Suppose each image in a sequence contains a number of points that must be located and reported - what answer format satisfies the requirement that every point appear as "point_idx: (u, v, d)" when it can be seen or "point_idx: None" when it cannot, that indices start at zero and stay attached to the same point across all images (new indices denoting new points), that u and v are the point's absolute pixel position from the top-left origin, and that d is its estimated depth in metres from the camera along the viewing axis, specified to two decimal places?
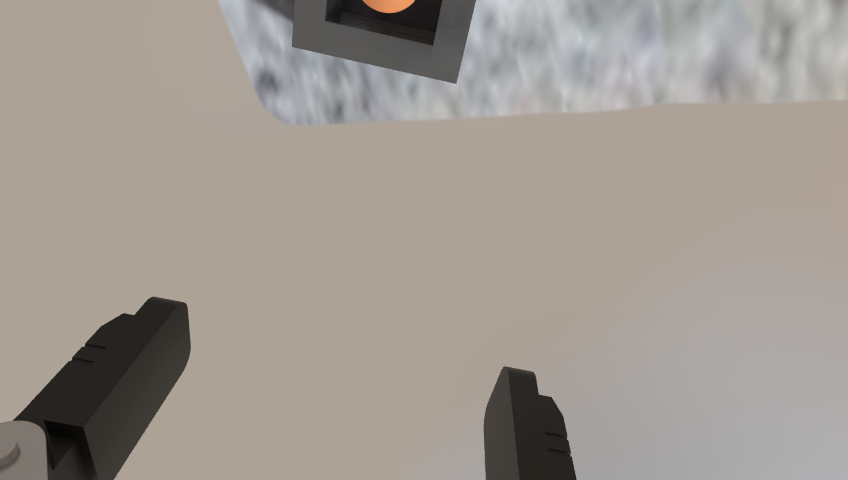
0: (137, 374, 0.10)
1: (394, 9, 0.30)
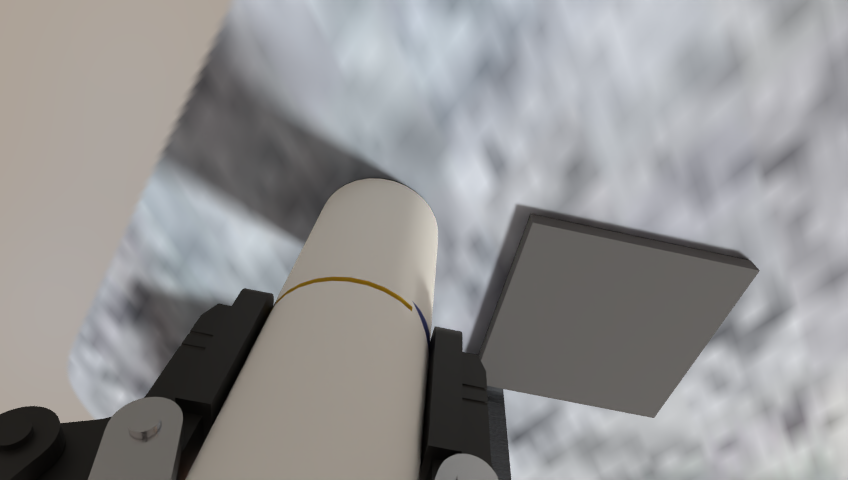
0: (242, 359, 0.11)
1: None
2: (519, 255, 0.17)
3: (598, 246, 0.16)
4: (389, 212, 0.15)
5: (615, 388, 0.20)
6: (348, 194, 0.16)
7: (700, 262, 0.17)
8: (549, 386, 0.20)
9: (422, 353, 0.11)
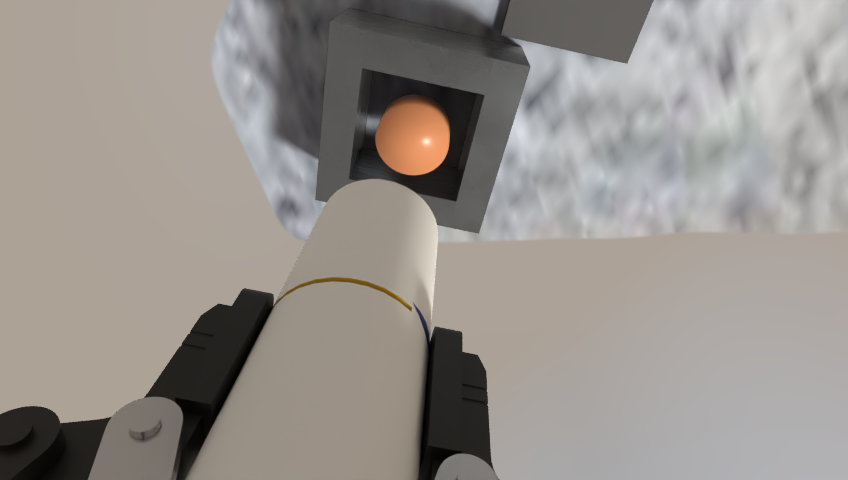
0: (242, 359, 0.11)
1: (418, 172, 0.30)
2: None
3: None
4: (389, 212, 0.15)
5: (599, 33, 0.29)
6: (348, 195, 0.16)
7: None
8: (554, 35, 0.29)
9: (422, 354, 0.11)
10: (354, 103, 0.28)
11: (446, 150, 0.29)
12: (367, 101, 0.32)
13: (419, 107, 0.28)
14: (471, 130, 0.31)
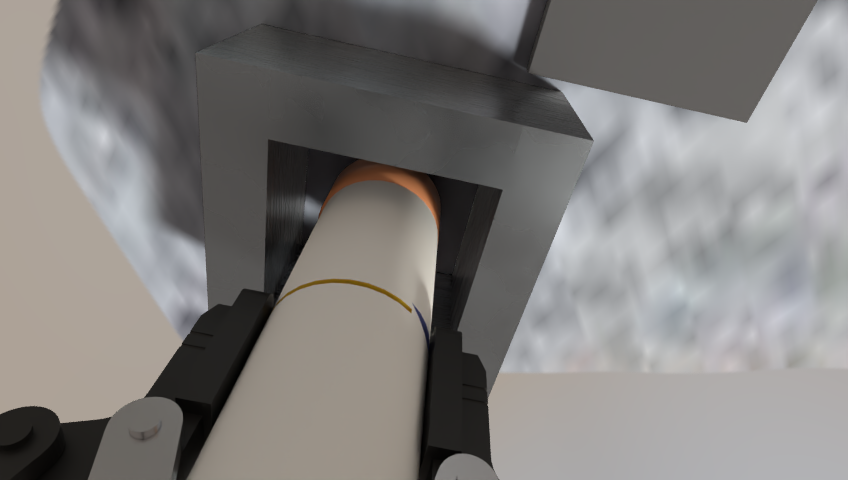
0: (242, 359, 0.11)
1: None
2: None
3: None
4: (389, 214, 0.15)
5: (704, 71, 0.16)
6: (348, 196, 0.16)
7: None
8: (622, 73, 0.17)
9: (421, 356, 0.11)
10: (259, 200, 0.15)
11: None
12: (301, 178, 0.19)
13: None
14: (475, 234, 0.18)
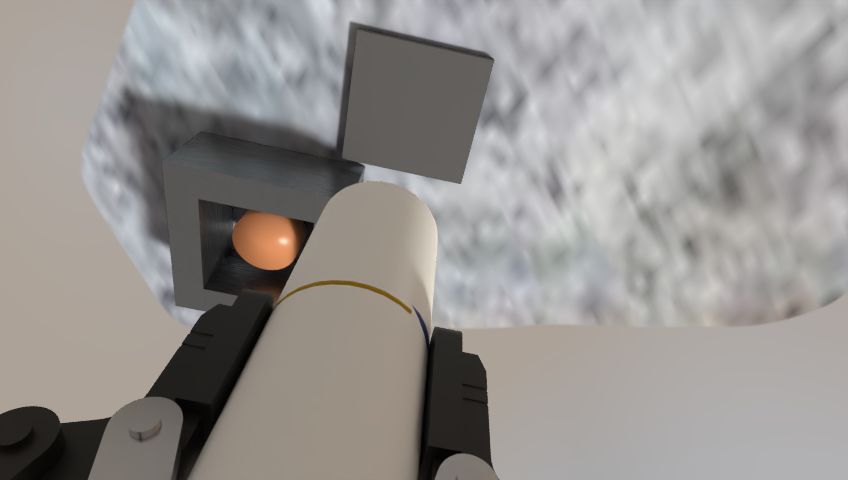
0: (242, 359, 0.11)
1: (275, 267, 0.33)
2: (354, 55, 0.28)
3: (397, 45, 0.28)
4: (389, 215, 0.15)
5: (431, 159, 0.31)
6: (348, 197, 0.16)
7: (458, 56, 0.28)
8: (390, 159, 0.31)
9: (421, 357, 0.11)
10: (196, 227, 0.30)
11: (296, 250, 0.33)
12: (227, 211, 0.34)
13: (266, 216, 0.31)
14: None
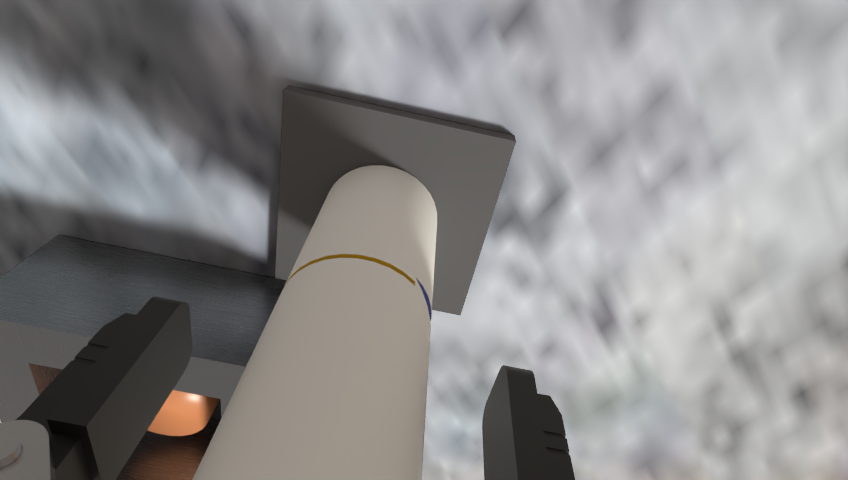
0: (140, 373, 0.10)
1: (179, 433, 0.22)
2: (282, 129, 0.17)
3: (353, 116, 0.16)
4: (392, 196, 0.16)
5: None
6: (352, 180, 0.17)
7: (456, 133, 0.17)
8: None
9: (425, 324, 0.12)
10: None
11: (207, 414, 0.21)
12: None
13: None
14: None
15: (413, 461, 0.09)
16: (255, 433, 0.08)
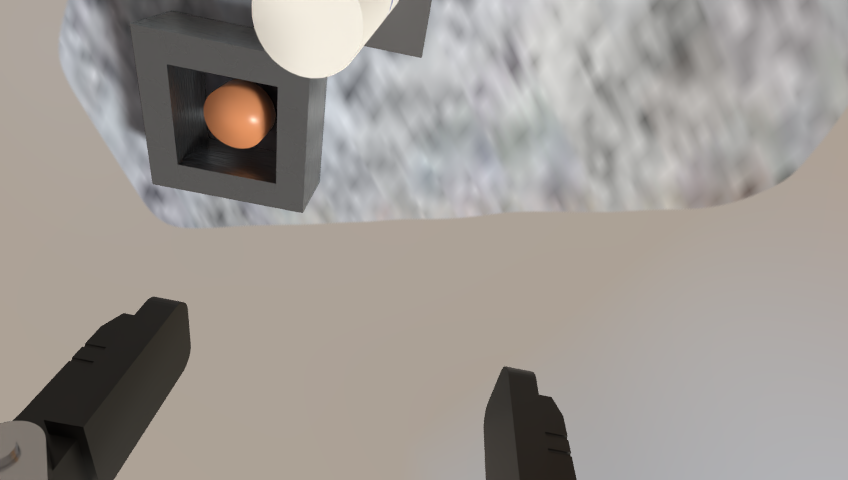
0: (138, 374, 0.10)
1: (246, 146, 0.35)
2: None
3: None
4: None
5: (391, 31, 0.33)
6: None
7: None
8: None
9: None
10: (166, 96, 0.31)
11: (265, 126, 0.34)
12: (200, 94, 0.36)
13: (234, 89, 0.33)
14: None
15: None
16: None
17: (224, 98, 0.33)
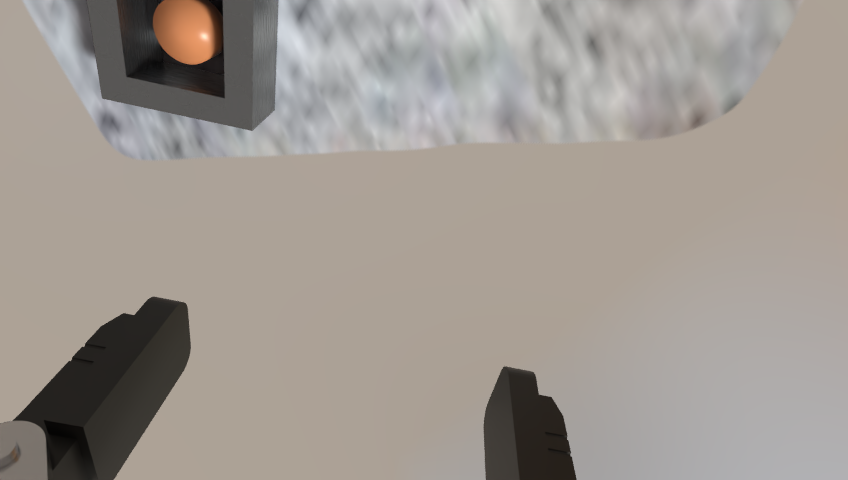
0: (138, 374, 0.10)
1: (196, 61, 0.35)
2: None
3: None
4: None
5: None
6: None
7: None
8: None
9: None
10: (113, 1, 0.32)
11: (214, 40, 0.34)
12: (152, 12, 0.36)
13: None
14: None
15: None
16: None
17: (173, 9, 0.33)
